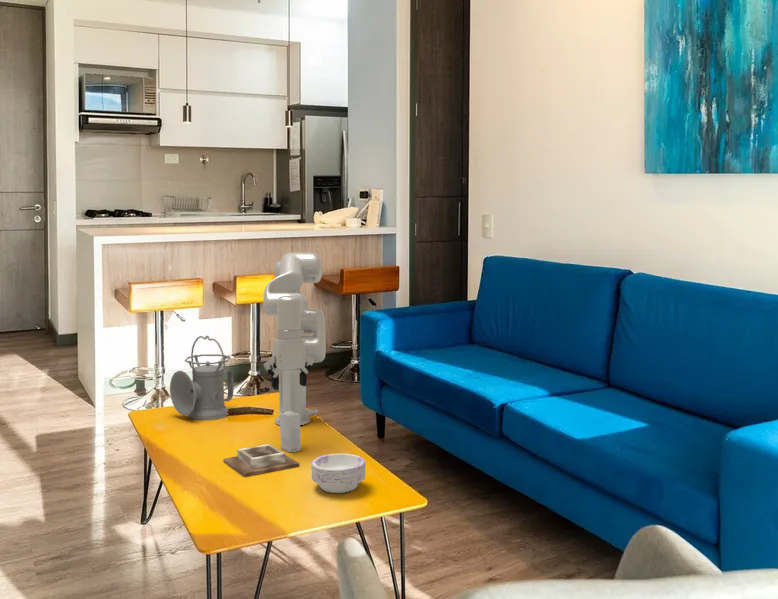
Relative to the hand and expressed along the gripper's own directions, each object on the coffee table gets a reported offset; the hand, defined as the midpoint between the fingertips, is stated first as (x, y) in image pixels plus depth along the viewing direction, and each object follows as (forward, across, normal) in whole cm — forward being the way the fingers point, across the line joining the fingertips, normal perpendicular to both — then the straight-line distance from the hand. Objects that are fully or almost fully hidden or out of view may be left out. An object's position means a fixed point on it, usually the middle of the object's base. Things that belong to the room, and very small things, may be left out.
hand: (289, 387), depth 261 cm
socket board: (+21, +14, +8) cm, 26 cm away
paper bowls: (+21, +3, +38) cm, 44 cm away
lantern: (+20, +7, -54) cm, 58 cm away
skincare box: (+21, 0, 0) cm, 21 cm away
